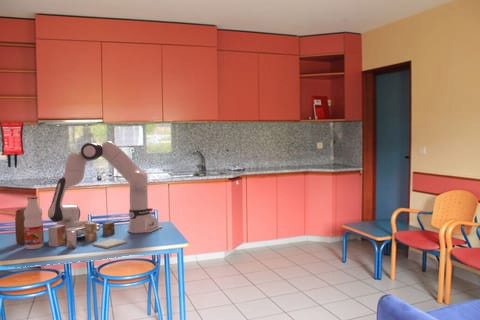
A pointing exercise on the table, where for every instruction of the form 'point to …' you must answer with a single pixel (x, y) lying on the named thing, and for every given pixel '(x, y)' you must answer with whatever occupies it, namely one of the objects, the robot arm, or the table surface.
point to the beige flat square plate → (110, 243)
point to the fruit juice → (33, 224)
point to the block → (20, 226)
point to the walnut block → (108, 228)
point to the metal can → (71, 239)
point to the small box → (57, 235)
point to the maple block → (90, 232)
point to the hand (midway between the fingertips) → (91, 231)
